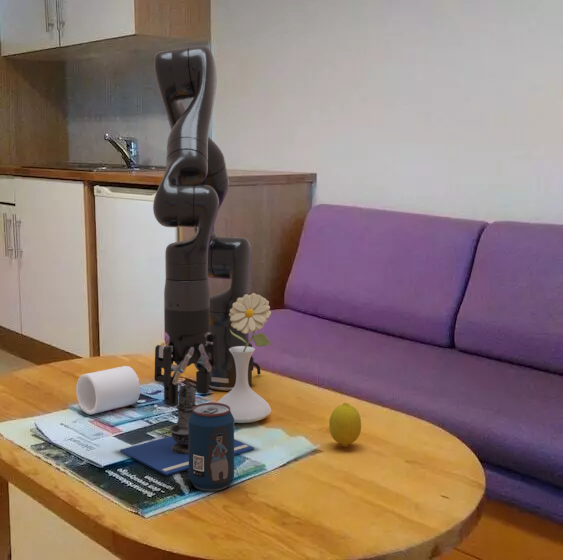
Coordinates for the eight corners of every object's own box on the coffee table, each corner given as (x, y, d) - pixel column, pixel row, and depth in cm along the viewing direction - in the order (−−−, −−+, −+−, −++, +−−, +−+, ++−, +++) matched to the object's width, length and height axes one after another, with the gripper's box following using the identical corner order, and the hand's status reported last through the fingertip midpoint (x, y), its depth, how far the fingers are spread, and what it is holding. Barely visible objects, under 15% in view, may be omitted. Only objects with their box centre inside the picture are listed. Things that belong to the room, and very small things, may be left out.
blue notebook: (205, 429, 143) (205, 426, 143) (254, 449, 133) (254, 447, 133) (120, 451, 131) (120, 449, 131) (166, 476, 121) (166, 473, 121)
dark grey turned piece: (210, 445, 134) (210, 378, 132) (192, 456, 128) (192, 387, 127) (181, 440, 136) (181, 374, 134) (163, 451, 131) (162, 382, 129)
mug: (141, 408, 155) (140, 369, 154) (98, 419, 148) (97, 378, 147) (108, 395, 164) (107, 358, 162) (65, 405, 156) (64, 367, 155)
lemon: (363, 443, 137) (364, 400, 136) (356, 454, 131) (357, 409, 130) (333, 439, 138) (334, 396, 137) (325, 450, 133) (326, 405, 132)
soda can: (206, 471, 123) (206, 398, 122) (242, 480, 120) (243, 406, 118) (179, 486, 117) (178, 410, 116) (216, 496, 114) (216, 418, 112)
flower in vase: (200, 418, 149) (199, 291, 146) (242, 405, 158) (242, 284, 154) (247, 434, 140) (248, 299, 137) (289, 420, 149) (291, 292, 145)
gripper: (178, 313, 121) (178, 414, 123) (229, 301, 133) (229, 392, 135) (141, 309, 124) (142, 406, 127) (194, 296, 137) (195, 385, 139)
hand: (187, 398), depth 131 cm, fingers open, 8 cm apart
